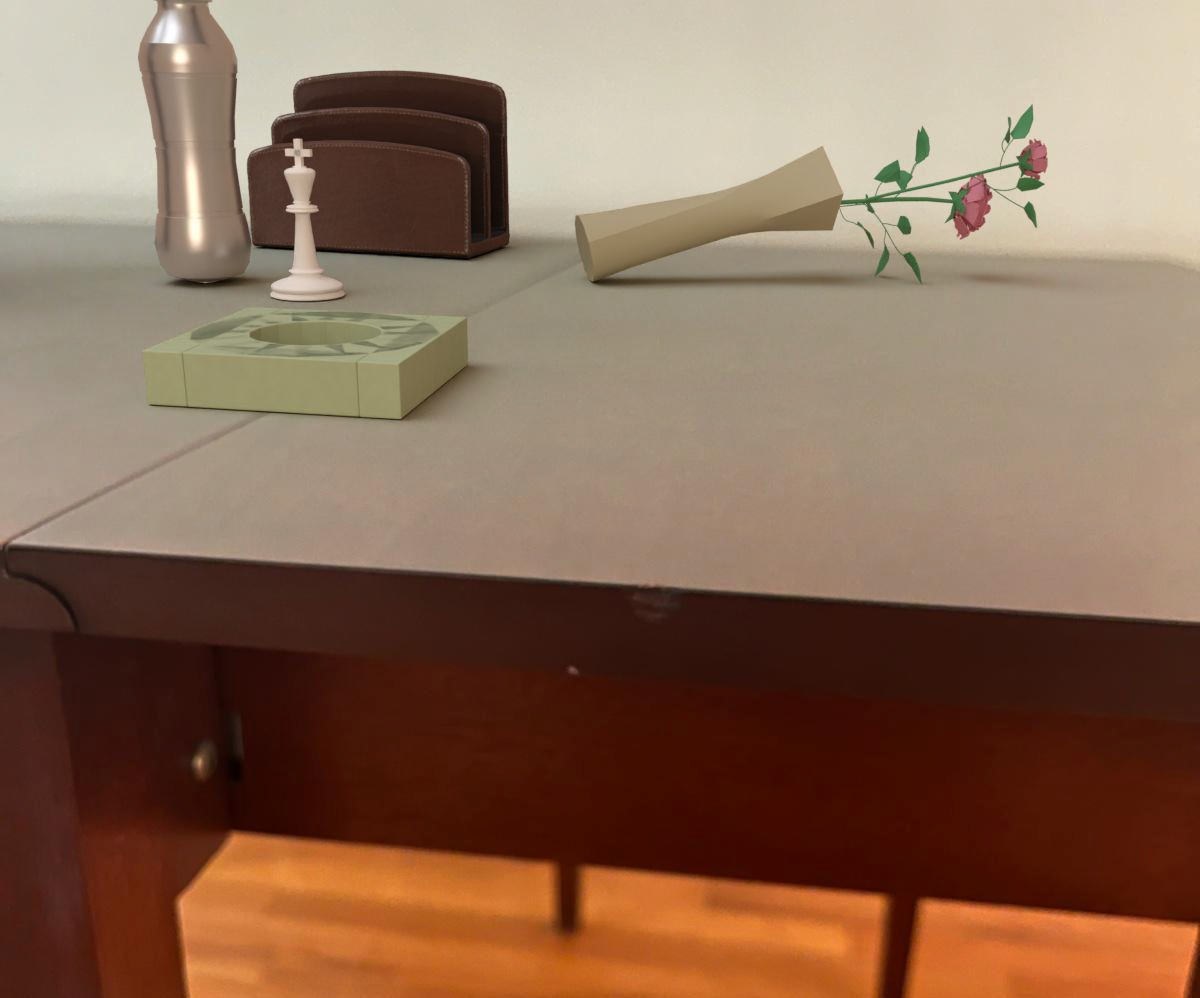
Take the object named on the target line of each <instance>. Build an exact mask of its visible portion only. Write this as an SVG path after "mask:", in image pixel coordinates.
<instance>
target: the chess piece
mask: <svg viewBox="0 0 1200 998" xmlns="http://www.w3.org/2000/svg"><path fill="white" fill-rule="evenodd" d="M293 142H294V149H285V156H294V158H295V166H293V168H288V169H286V170H285V171H284V175H285V178H286V180H287V182H288V185H289V188H290V191H291V194H292V196H293V198H294V202H293V203H294V204H293V205H288V206H287V209H286V211H287V212H290V213H295V246H294V249H293V261H292V268H290V269H288V272H289V273H290V275H288V276H287V277H284V278H283V277H282V278H281V279H278V280H276V281H274V282H273V283H271V285H270V290H271V292H270V297H271V298H272V299H275V300H280V301H290V302H319V301H320V302H322V301H330V300H336V299H340V298H343V297H344V296H345V294H346V293H345V291H344V290H343V289H344V284H343V282H341V281H339V280H337V279H335V278H333V277H328V276H325V275H323V274H322V273H323V272H324V271H325V270H324V269H323V268H321V267H320V265H319V260H318V256H317V250H315V245H314V239H313V234H312V227H311V221H310V213H314V212H318V211H319V209H317V206H316V205H311V204H309V203H311V202H310V201H309V198H310V195H311V191H312V186H313V182H314V179H315V174H316V172H315V171H314V170H313V169H311V168H306V166H304V159H303V157H312V149H303V143H302V139H293Z"/></svg>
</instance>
